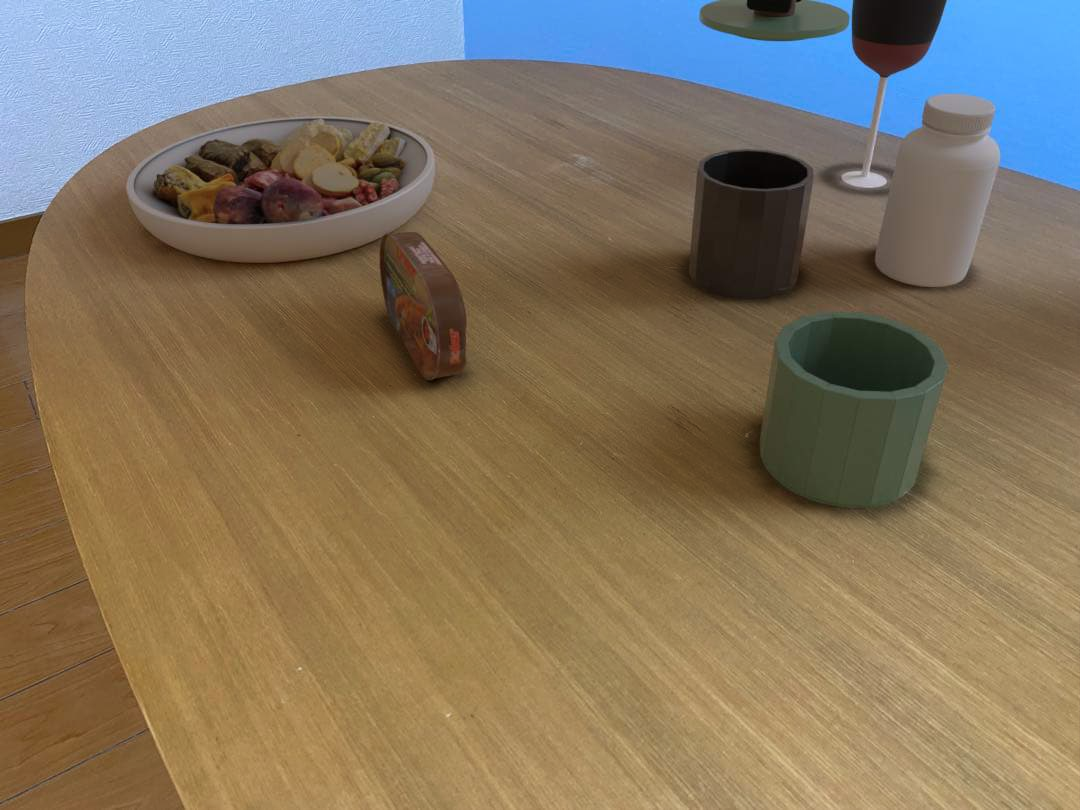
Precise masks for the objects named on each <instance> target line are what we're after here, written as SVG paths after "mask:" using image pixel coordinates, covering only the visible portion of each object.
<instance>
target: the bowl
mask: <svg viewBox="0 0 1080 810" xmlns="http://www.w3.org/2000/svg"><path fill="white" fill-rule="evenodd" d="M435 161H436V160H435V153H434V151H433V149H432V147H431V146H430V144H429V143H428V142H427V141H426V140H425V139H423V138H422V137H420V135H417V134H416V133H414V132H412V131H410V130H408V129H406V128H403V127H400V126H397V125H394V124H390V123H386V122H382V121H377V120H371V119H364V118H359V117H358V118H357V117H347V116H328V115H327V116H326V115H325V116H323V115H322V116H321V115H320V116H317V115H316V116H314V115H313V116H292V117H291V116H290V117H289V116H288V117H278V118H268V119H260V120H253V121H247V122H243V123H237V124H232V125H228V126H223V127H219V128H215V129H210V130H208V131H207V130H206V131H203V132H201V133H197V134H194V135H192V136H188V137H186V138H183V139H180V140H178V141H175V142H173V143H170V144H169V145H166V146H164V147H162V148H160V149H159V150H157V151H154V152H153V153H151V154H150V155H148V156H147V157H145V158H144V159H143V160H141V161H140V162H139V163H138V164H137V165H136V166H135V167H134V168H133V169H132V170H131V172H130V173H129V174H128V177H127V180H126V186H125V190H126V195H127V198H128V202H129V204H130V207H131V209H132V211H133V213H134V215H135V217H136V218H137V220H138V221H139V222H140V224H141V225H142V226H143V227H144V228H145V229H146V231H148V232H149V233H151V235H153V237H155V238H156V239H158V240H159V241H162V243H164V244H166V245H168V246H170V247H172V248H174V249H176V250H179V251H181V252H183V253H187V254H190V255H193V256H197V257H201V258H206V259H211V260H215V261H221V262H229V263H230V262H232V263H246V264H247V263H248V264H266V263H267V264H270V263H271V264H272V263H286V262H295V261H303V260H310V259H317V258H321V257H326V256H331V255H335V254H339V253H342V252H346V251H349V250H352V249H355V248H359V247H361V246H364V245H366V244H370V243H371V242H374V241H376V240H378V239H382V237H383V236H384V235H385V234H386V233H390V234H391V233H392V232H394V231H396V230H397V229H398V228H400V227H401V226H403V225H404V224H406V223H407V222H408V221H409V220H411V219H412V218H413V217H414V216H415V215H416V214H417V213H418V212H419V210H421V208H422V207H423V206H424V204H425V203H426V201H427V200H428V197H429V195H430V194H431V192H432V189H433V187H434V186H433V185H434V181H435V175H436V163H435Z"/></svg>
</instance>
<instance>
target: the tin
mask: <svg viewBox="0 0 1080 810" xmlns="http://www.w3.org/2000/svg"><path fill="white" fill-rule="evenodd" d="M379 275H380V282H381V288H382V294H383V300H384V306H385V310H386V313H387V317H388V320H389V322H390V324H391V326H393V327H394V329H395V330H396V332H397V333H398V335H399V337H400V339H401V341H402V343H403V344H404V346H405V348H406V349H407V351H408V353H409V355H410V357H411V359H412V361H413V362H414V364H415V365H416V367H417V369H418V370H419V372H420V374H421V376H422V377H423V379H425V380H427V381H433V380H434V379H439V378H443V377H450V376H454V375H457V374H459V373H461V372H463V371H464V369H465V368H466V365H467V325H468V324H467V323H468V321H467V312H466V308H465V307H466V306H465V302H464V299H463V294H462V291H461V289H460V286H459V284H458V282H457V280H456V277H455V276H454V274H453V273H452V271H451V270H450V269H449V268H448V267H447V265H446V263H445V262H444V261H443V260H442V259H441V258H440V256H439V254H438V253H437V252H436V251H435V250H434V249H433V247H432V246H431V245H430V244H429V242H427V240H426V239H425V238H424V237H423V235H421V234H420V233H419V232H416V231H408V232H407V231H405V232H397V233H391V232H390V233H386V234H385V235H384V236H383V237H381V240H380V246H379Z"/></svg>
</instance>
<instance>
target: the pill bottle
mask: <svg viewBox="0 0 1080 810" xmlns="http://www.w3.org/2000/svg"><path fill="white" fill-rule="evenodd" d="M995 114H996V107H995V105H994V103H992V101H990V100H987V99H985V98H983V97H980V96H975V95H971V94H965V93H964V94H963V93H940V94H935V95H933V96H930V97H928V98H927V99H926V101H925V103H924V105H923V111H922V115H921V126H919V127H918V128H914V129H913V130H911V131H910V132H908V133H907V134H906V135H905V136H904V137H903V139H902V141H901V143H900V144H899V146H898V150H897V156H896V160H895V164H894V169H893V173H892V177H891V183H890V186H889V191H888V196H887V199H886V203H885V209H884V214H883V218H882V221H881V226H880V232H879V236H878V241H877V244H876V250H875V255H874V256H875V257H874V262H875V266H876V267H877V269H878V270H879V271H880V272H881V273H882V274H883V275H885V276H887V277H888V278H890V279H892V280H895V281H897V282H900V283H904V284H907V285H912V286H916V287H924V288H927V287H928V288H942V287H943V288H944V287H949V286H953V285H956V284H958V283H960V282H962V281H963V280H964V279H965V277H966V276H967V275H968V271H969V269H970V266H971V262H972V259H973V256H974V252H975V248H976V246H977V241H978V238H979V235H980V231H981V228H982V224H983V221H984V218H985V215H986V210H987V207H988V204H989V201H990V197H991V194H992V190H993V186H994V183H995V179H996V176H997V173H998V169H999V167H1000V162H1001V150H1000V147H999V144H998V143H997V142H996V140H995V139H993V137H992V136H990V135H989V134H990V133H991V130H992V127H991V126H992V124H993V120H994V117H995Z"/></svg>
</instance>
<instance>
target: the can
mask: <svg viewBox="0 0 1080 810" xmlns="http://www.w3.org/2000/svg"><path fill="white" fill-rule="evenodd" d="M773 344H774V345H773V350H772V352H773V353H772V356H771V363H770V370H769V377H768V384H767V391H766V395H765V396H766V397H765V402H764V403H765V404H764V410H763V416H762V423H761V430H760V436H759V437H760V438H759V454H760V458H761V462H762V464H763V466H764V468H765V469H766V471H768V473H769V475H771V476H772V478H773V479H774V480H775V481H777V482H778V483H779V484H780V485H782V486H784V488H786V489H787V490H788V491H791V492H792V493H795V494H796V495H798V496H800V497H802V498H804V499H807V500H810V501H812V502H816V503H818V504H823V505H826V506H832V507H839V508H845V509H867V508H875V507H881V506H885V505H887V504H888V505H889V504H891V503H893V502H895V501H898V500H900V499H901V498H903V497H904V496H906V495H907V494H908V493H909V492H911V489H912V488H913V487H914V486H915V484H916V481H917V478H918V474H919V470H920V468H921V464H922V460H923V457H924V454H925V449H926V446H927V443H928V439H929V435H930V431H931V428H932V426H933V425H932V424H933V421H934V417H935V414H936V411H937V408H938V407H937V406H938V403H939V400H940V396H941V393H942V389H943V385H944V383H945V378H946V375H947V371H948V369H949V362H948V360H947V359H946V356H945V355H944V352H943V351H942V348H941V347H940V345H939V344H937V343H936V342H935V341H933V340H932V339H931V338H930V337H928V336H927V335H925V333H923V332H922V331H921V330H918V329H916V328H913V327H912V326H909V325H906V324H904V323H902V322H899V321H897V320H895V319H891V318H888V317H884V316H879V315H873V314H870V313H866V312H865V313H864V312H859V311H825V312H820V313H814V314H809V315H803V316H801V317H798V318H797V319H796V320H794V321H792V322H790V323H788V324H786V325H784V326H783V327H782V328H781V330H780V332H779V333H778V336H777V337H776V338H775V340H774V343H773Z"/></svg>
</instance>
